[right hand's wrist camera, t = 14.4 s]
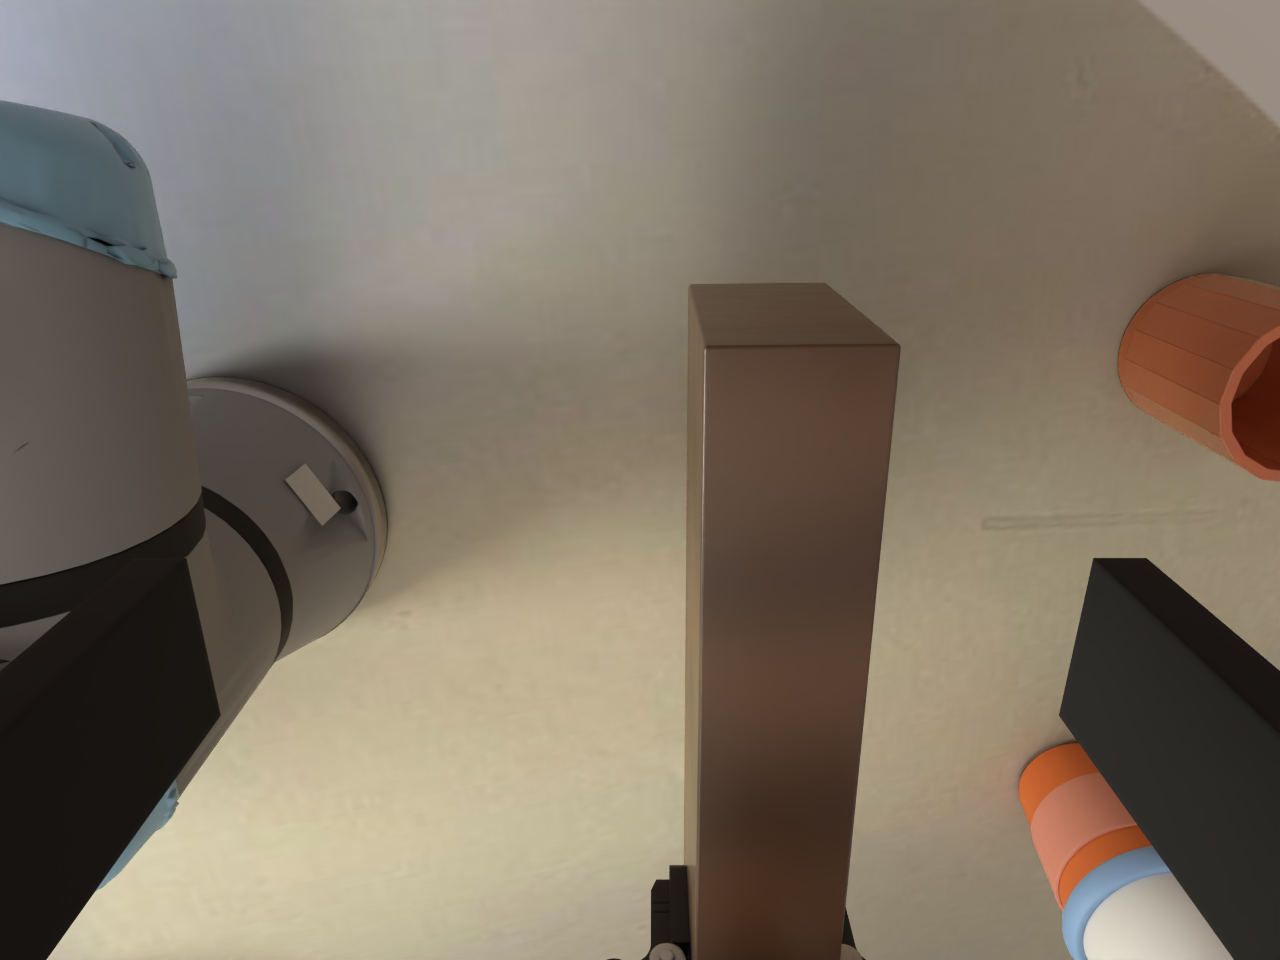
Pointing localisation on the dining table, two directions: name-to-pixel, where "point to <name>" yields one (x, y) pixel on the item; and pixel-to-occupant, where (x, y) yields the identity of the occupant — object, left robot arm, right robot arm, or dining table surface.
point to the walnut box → (779, 608)
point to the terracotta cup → (1211, 366)
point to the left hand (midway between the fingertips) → (742, 883)
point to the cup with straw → (1107, 868)
